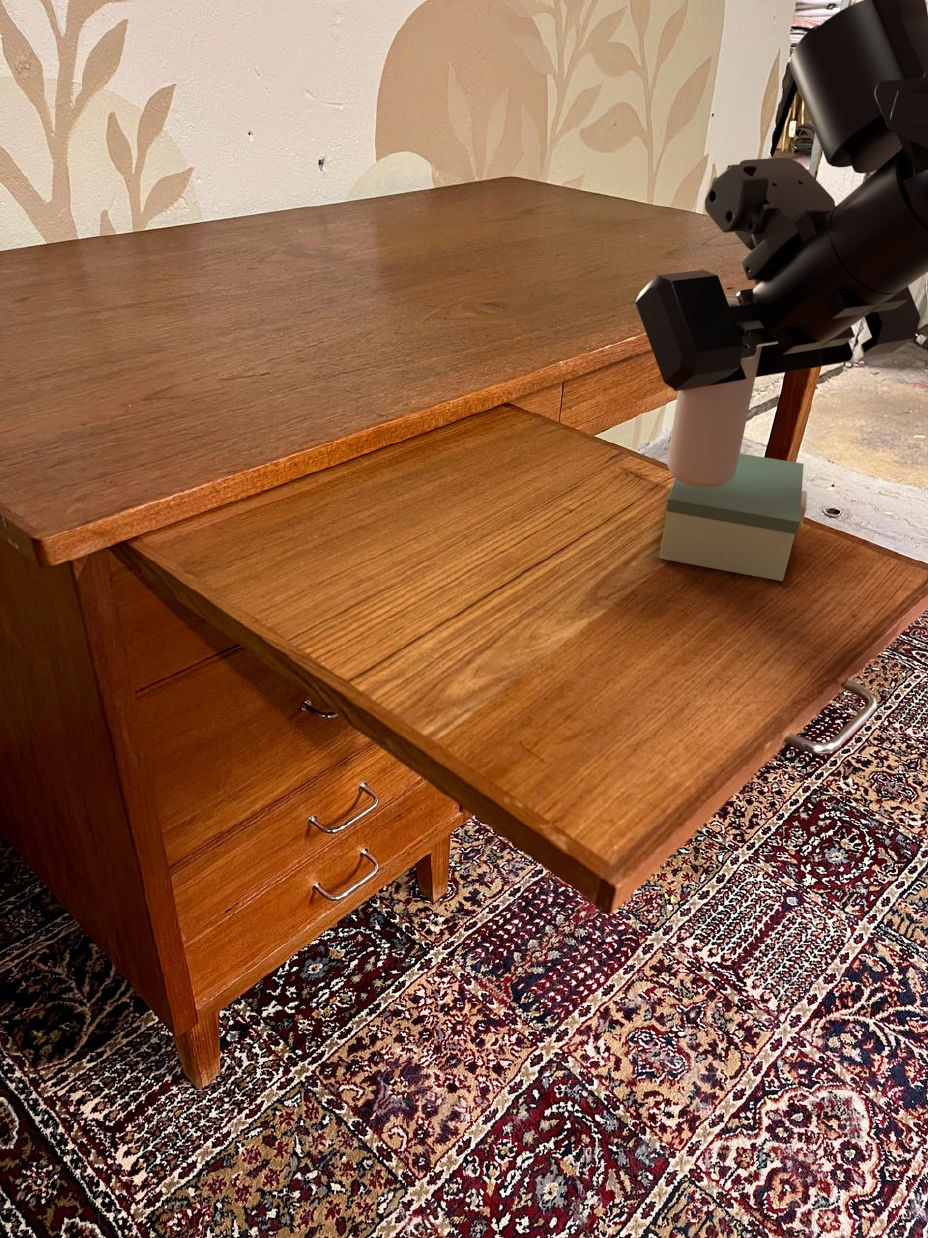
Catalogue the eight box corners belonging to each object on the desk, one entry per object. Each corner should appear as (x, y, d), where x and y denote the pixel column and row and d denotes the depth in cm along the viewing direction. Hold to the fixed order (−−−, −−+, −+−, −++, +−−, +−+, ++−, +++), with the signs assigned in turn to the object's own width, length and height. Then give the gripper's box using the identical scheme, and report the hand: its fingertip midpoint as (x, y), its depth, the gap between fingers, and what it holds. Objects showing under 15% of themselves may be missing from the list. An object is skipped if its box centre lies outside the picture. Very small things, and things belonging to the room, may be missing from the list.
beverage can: (713, 497, 65) (748, 319, 59) (652, 475, 68) (679, 302, 61) (746, 475, 68) (783, 304, 62) (686, 455, 71) (715, 288, 64)
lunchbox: (795, 520, 78) (810, 464, 75) (791, 583, 70) (807, 523, 67) (675, 500, 80) (685, 444, 77) (657, 558, 72) (667, 499, 69)
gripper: (938, 108, 56) (766, 260, 70) (683, 116, 48) (549, 284, 63) (1009, 281, 55) (820, 400, 69) (758, 316, 47) (604, 442, 61)
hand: (703, 378), depth 65 cm, fingers closed on beverage can, 5 cm apart
